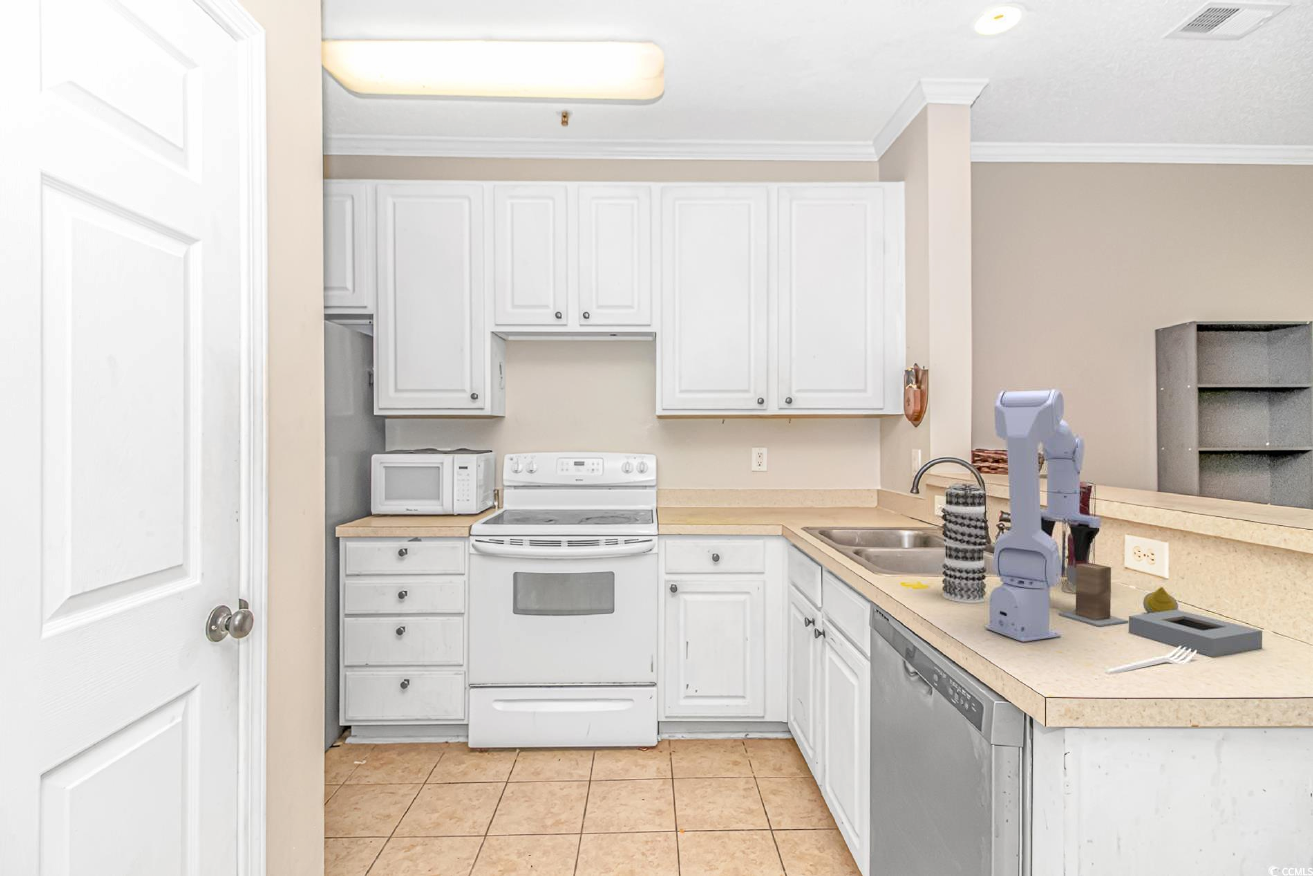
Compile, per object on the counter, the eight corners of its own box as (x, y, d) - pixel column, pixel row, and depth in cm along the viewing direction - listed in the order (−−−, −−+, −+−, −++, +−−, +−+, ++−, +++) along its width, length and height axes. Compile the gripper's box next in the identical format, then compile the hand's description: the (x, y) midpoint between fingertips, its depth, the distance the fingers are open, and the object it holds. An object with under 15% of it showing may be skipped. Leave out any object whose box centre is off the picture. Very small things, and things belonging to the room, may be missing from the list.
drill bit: (1184, 619, 122) (1187, 593, 117) (1155, 629, 123) (1157, 603, 118) (1163, 598, 127) (1165, 571, 121) (1136, 607, 128) (1137, 581, 122)
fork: (1095, 672, 95) (1096, 660, 95) (1176, 655, 103) (1177, 644, 103) (1118, 680, 92) (1118, 668, 92) (1200, 662, 100) (1200, 651, 100)
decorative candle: (938, 590, 142) (939, 481, 142) (983, 594, 139) (984, 483, 139) (942, 601, 133) (943, 485, 133) (990, 605, 130) (992, 486, 130)
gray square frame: (1212, 657, 101) (1212, 638, 101) (1128, 632, 113) (1128, 616, 113) (1262, 648, 105) (1262, 630, 105) (1176, 625, 117) (1176, 609, 117)
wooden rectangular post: (1095, 620, 119) (1096, 568, 119) (1075, 614, 122) (1076, 564, 122) (1110, 618, 120) (1111, 567, 120) (1089, 612, 124) (1090, 563, 124)
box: (1093, 605, 131) (1095, 490, 130) (1059, 600, 134) (1060, 488, 134) (1094, 582, 151) (1096, 482, 151) (1064, 578, 154) (1065, 480, 154)
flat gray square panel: (1098, 627, 116) (1098, 624, 116) (1058, 614, 124) (1058, 612, 124) (1128, 622, 119) (1128, 620, 119) (1087, 611, 126) (1087, 609, 126)
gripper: (1112, 495, 124) (1111, 562, 124) (1045, 488, 137) (1044, 549, 138) (1086, 496, 121) (1085, 565, 121) (1021, 489, 135) (1020, 551, 135)
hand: (1062, 557), depth 129 cm, fingers open, 7 cm apart
